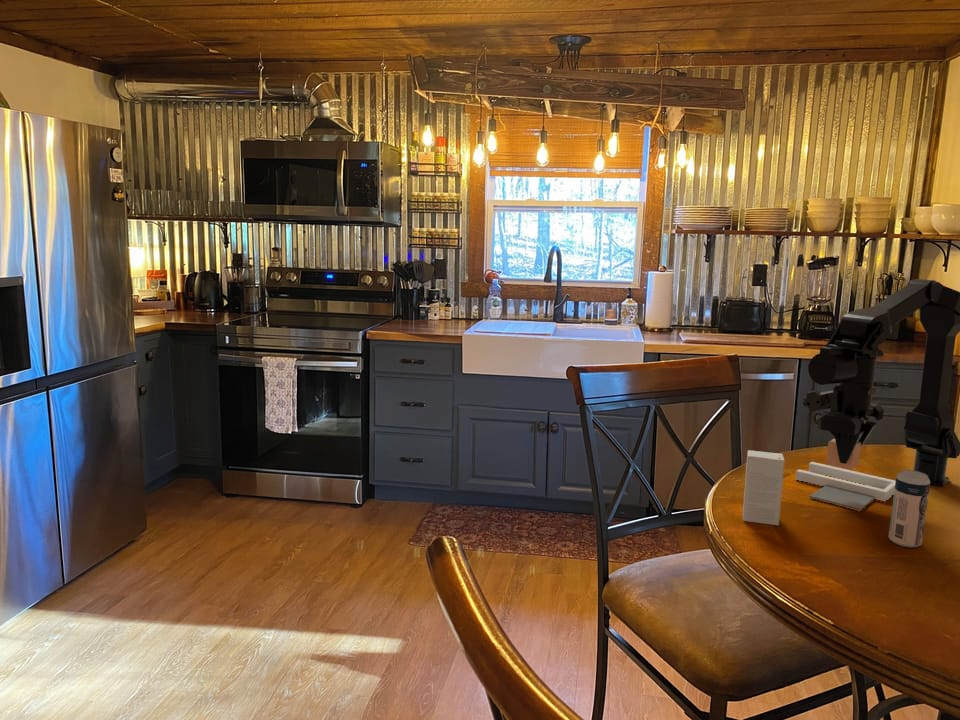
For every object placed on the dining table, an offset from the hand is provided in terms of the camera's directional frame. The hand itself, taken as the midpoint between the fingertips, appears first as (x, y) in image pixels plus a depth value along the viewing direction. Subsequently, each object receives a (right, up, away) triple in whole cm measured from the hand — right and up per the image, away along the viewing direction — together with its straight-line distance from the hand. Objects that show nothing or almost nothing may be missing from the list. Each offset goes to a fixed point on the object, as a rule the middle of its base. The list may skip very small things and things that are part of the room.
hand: (847, 460), depth 137 cm
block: (-1, -1, +1) cm, 1 cm away
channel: (+4, -6, +9) cm, 12 cm away
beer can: (0, -11, -18) cm, 21 cm away
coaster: (0, -8, +1) cm, 8 cm away
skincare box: (-21, -9, -10) cm, 25 cm away
